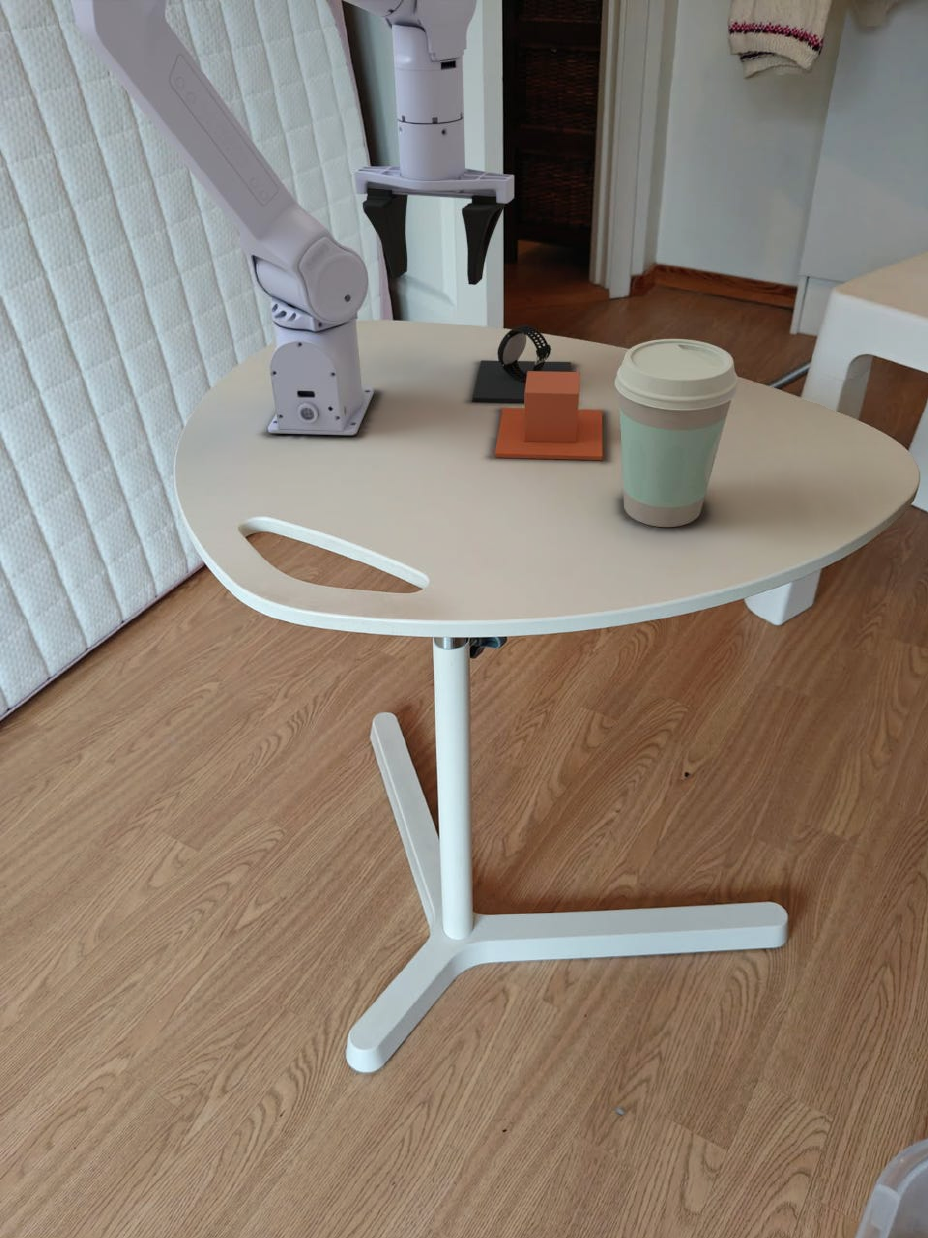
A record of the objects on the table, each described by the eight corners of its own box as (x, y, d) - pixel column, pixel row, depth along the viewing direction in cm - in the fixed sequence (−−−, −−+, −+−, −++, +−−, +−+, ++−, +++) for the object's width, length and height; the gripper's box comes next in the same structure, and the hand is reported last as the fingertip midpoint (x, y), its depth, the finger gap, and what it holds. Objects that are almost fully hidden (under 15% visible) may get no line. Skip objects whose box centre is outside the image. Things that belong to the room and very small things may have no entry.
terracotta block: (576, 443, 83) (579, 393, 81) (523, 441, 84) (524, 392, 81) (577, 419, 87) (579, 371, 84) (526, 418, 87) (527, 370, 85)
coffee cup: (724, 539, 71) (749, 384, 64) (606, 535, 72) (618, 382, 65) (713, 482, 78) (734, 336, 71) (605, 479, 79) (615, 334, 72)
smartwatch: (527, 366, 97) (528, 316, 94) (553, 385, 93) (555, 333, 90) (490, 374, 95) (490, 324, 92) (515, 393, 92) (516, 342, 89)
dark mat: (569, 403, 91) (569, 399, 90) (472, 401, 92) (472, 397, 91) (570, 365, 98) (571, 361, 98) (481, 363, 99) (481, 360, 98)
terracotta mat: (602, 460, 82) (602, 456, 81) (494, 457, 82) (494, 453, 82) (601, 413, 89) (602, 409, 89) (502, 411, 90) (502, 407, 89)
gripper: (525, 112, 85) (523, 271, 93) (372, 106, 89) (383, 258, 97) (499, 128, 80) (500, 295, 88) (338, 121, 84) (353, 281, 92)
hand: (437, 277), depth 92 cm, fingers open, 7 cm apart
